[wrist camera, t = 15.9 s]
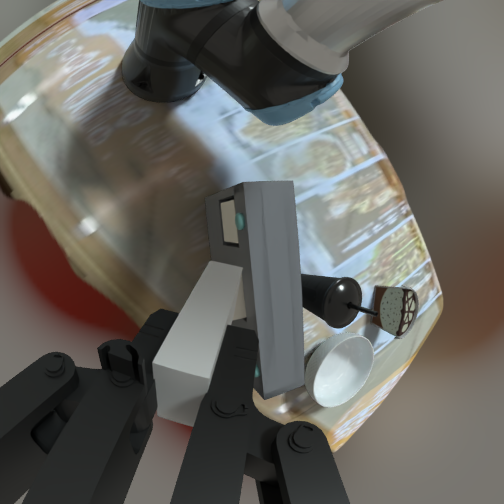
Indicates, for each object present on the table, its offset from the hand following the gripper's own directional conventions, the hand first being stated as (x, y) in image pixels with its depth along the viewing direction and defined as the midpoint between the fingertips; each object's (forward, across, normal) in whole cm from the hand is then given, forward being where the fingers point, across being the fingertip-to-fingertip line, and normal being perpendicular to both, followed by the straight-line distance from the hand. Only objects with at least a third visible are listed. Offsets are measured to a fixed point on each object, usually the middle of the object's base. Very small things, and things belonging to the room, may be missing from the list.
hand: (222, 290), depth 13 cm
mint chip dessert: (+44, +33, -22) cm, 60 cm away
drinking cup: (+34, +9, -17) cm, 39 cm away
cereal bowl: (+33, +21, -33) cm, 52 cm away
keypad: (+29, -2, -15) cm, 32 cm away
